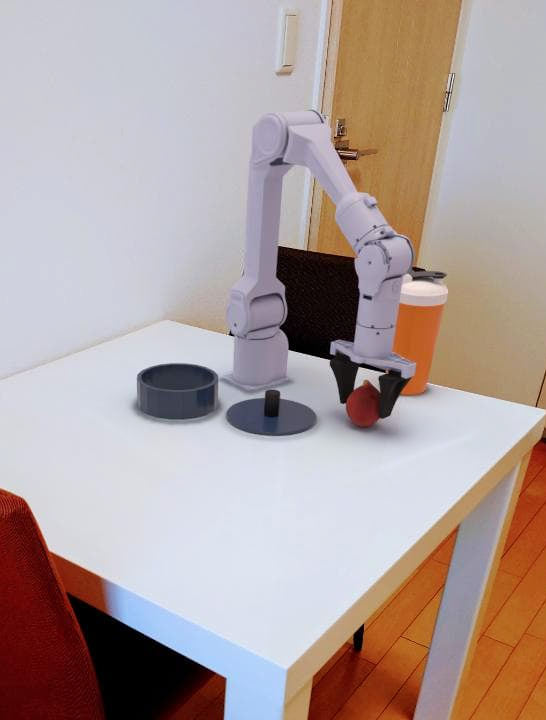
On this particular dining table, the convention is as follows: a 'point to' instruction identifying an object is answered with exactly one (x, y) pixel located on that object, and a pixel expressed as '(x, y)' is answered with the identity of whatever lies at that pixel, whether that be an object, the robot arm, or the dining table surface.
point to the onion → (364, 405)
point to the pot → (177, 391)
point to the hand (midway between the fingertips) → (364, 409)
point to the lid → (271, 415)
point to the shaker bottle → (419, 323)
